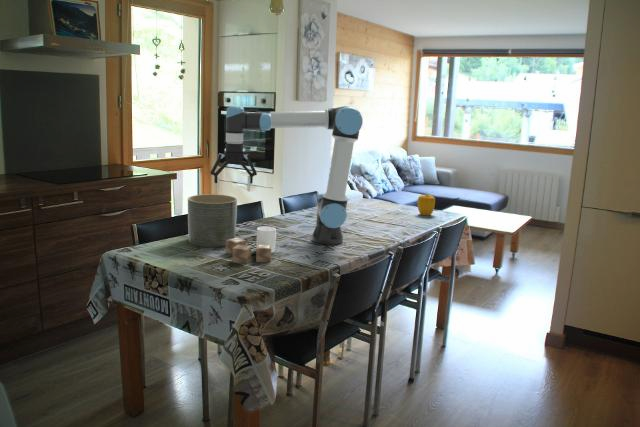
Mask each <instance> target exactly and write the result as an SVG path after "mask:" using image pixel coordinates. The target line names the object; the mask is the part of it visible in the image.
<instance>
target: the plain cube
mask: <svg viewBox="0 0 640 427" xmlns="http://www.w3.org/2000/svg"><path fill="white" fill-rule="evenodd" d="M252 247H253V246H252V245H246V246H245V245H237V246H235V247H234V248H233V255H232V263H236V264H244V265H247V264H248V263H249V262H250V261H252Z"/></svg>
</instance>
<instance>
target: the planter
mask: <svg viewBox="0 0 640 427" xmlns="http://www.w3.org/2000/svg"><path fill="white" fill-rule="evenodd" d="M237 213H238V199H237V197H235V196H233V195H227V194H215V193H214V194H212V193H211V194H210V193H209V194H196V195H191V196H188V198H187V226H188V227H187V228H188V229H187V231H188V243H189V244H191V245H193V246H197V247H202V248H221V247H226V240H229V239H233V238H237V237H236V233H237V216H238V214H237Z"/></svg>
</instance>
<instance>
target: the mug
mask: <svg viewBox="0 0 640 427" xmlns="http://www.w3.org/2000/svg"><path fill="white" fill-rule="evenodd" d="M276 241H277V228H275V227H273V226H266V225H265V226H258V227H257V228H256V248H257V245H271V254H273V253H274V252H275V251H276Z"/></svg>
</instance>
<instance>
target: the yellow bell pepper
mask: <svg viewBox="0 0 640 427" xmlns="http://www.w3.org/2000/svg"><path fill="white" fill-rule="evenodd" d="M435 206H436V197H434V195H431V194H420V195H419V196H418V197H417V209H418V212H419V214H420V215H422V216H424V215H425V216H426V217H427V216H431V215H433V214H432V213H433V212H434V209H435Z"/></svg>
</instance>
